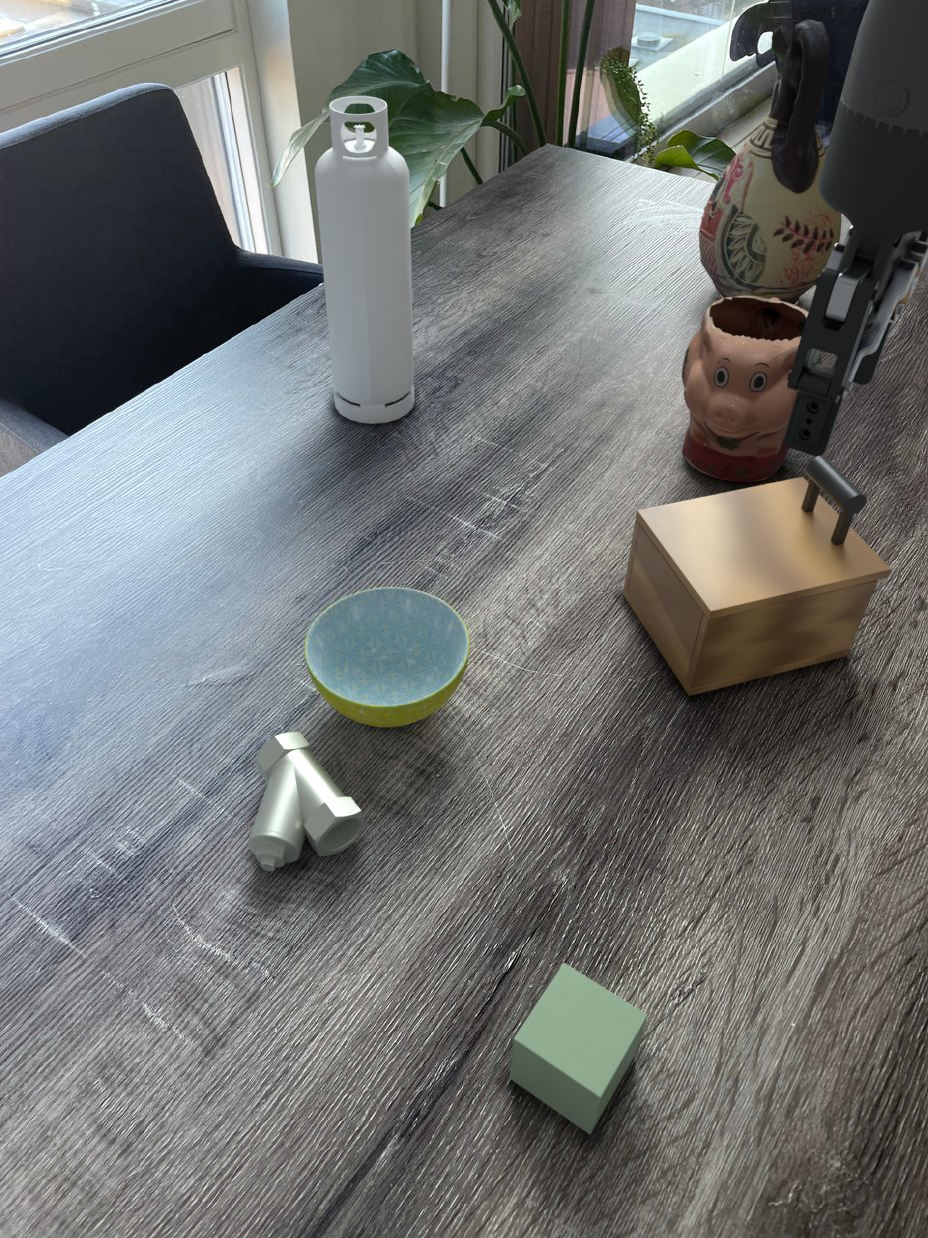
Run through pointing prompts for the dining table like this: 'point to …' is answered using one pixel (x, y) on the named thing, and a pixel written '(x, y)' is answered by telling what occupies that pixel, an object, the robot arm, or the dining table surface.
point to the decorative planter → (741, 387)
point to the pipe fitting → (299, 805)
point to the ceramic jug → (776, 187)
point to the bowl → (387, 655)
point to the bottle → (366, 265)
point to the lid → (766, 542)
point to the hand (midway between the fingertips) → (829, 411)
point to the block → (576, 1047)
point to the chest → (736, 626)
